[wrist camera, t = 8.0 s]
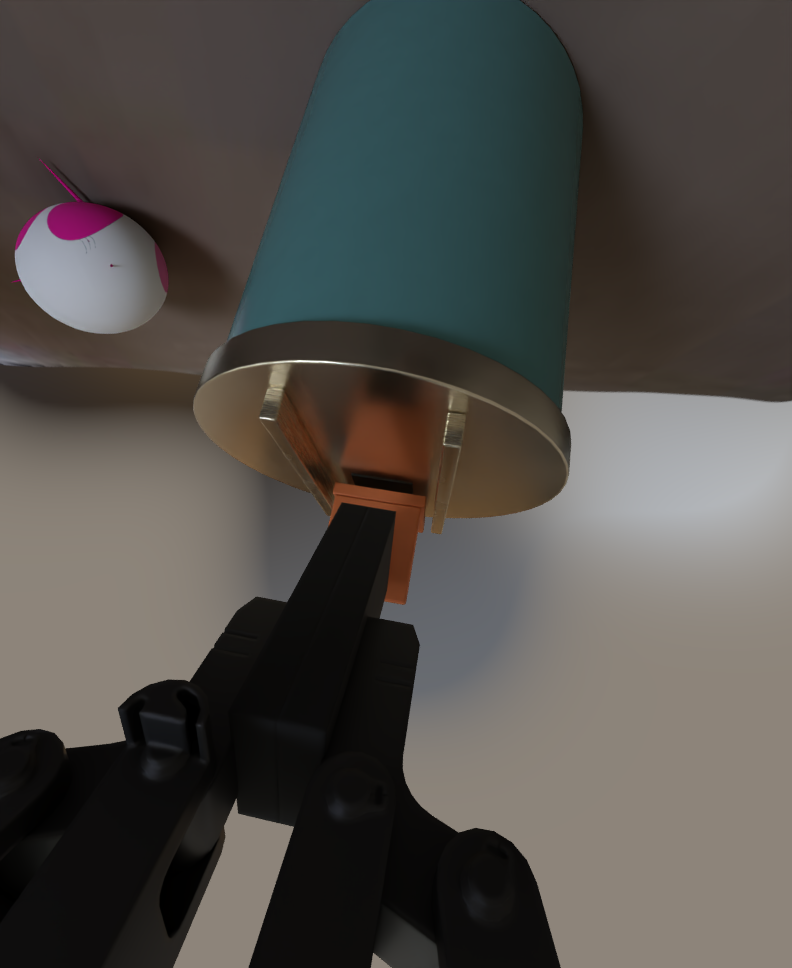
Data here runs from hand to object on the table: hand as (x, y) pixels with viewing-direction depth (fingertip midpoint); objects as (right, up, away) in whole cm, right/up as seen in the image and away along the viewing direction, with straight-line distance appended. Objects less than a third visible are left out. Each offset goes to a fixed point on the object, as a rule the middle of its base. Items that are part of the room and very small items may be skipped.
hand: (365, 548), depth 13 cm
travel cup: (+3, +15, +5) cm, 15 cm away
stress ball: (-14, +16, +11) cm, 24 cm away
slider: (0, +1, +4) cm, 4 cm away
